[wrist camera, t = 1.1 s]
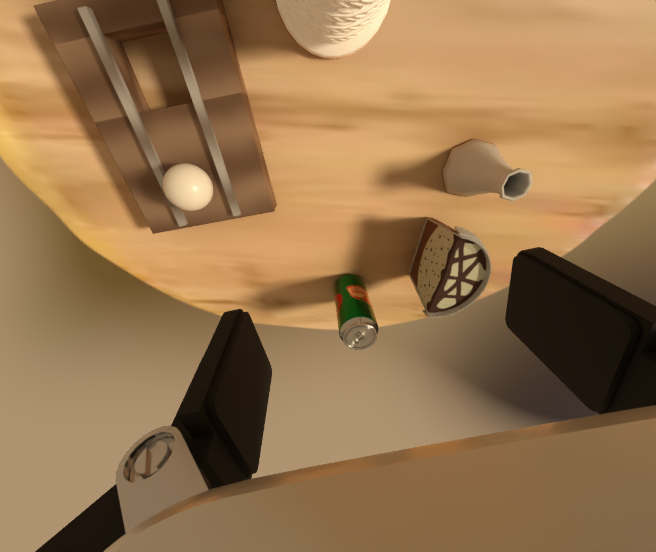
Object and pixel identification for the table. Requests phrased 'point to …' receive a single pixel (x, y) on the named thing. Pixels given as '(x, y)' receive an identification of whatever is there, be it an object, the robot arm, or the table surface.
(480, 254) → the food container
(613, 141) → the table surface
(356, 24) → the decorative container
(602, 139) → the table surface
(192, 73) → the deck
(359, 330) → the soda can
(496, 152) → the flask
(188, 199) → the ball
